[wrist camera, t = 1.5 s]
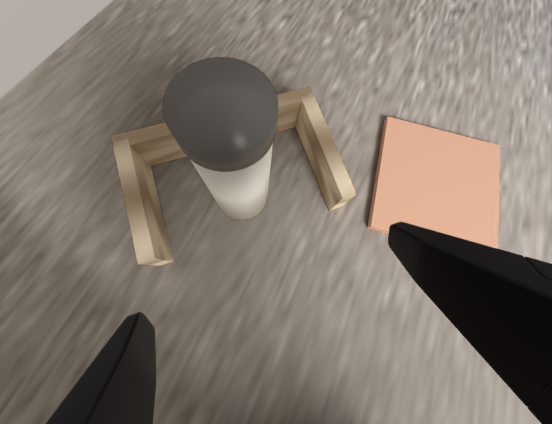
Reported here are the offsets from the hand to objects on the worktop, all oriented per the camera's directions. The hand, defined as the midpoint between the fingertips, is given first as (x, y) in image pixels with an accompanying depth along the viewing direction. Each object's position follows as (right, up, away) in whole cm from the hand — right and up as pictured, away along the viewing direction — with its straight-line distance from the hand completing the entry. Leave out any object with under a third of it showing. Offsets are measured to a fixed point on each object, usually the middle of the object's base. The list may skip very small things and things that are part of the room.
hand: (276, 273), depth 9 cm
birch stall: (-4, +5, +15) cm, 16 cm away
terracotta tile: (+16, +5, +16) cm, 23 cm away
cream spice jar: (-3, +4, +15) cm, 16 cm away
